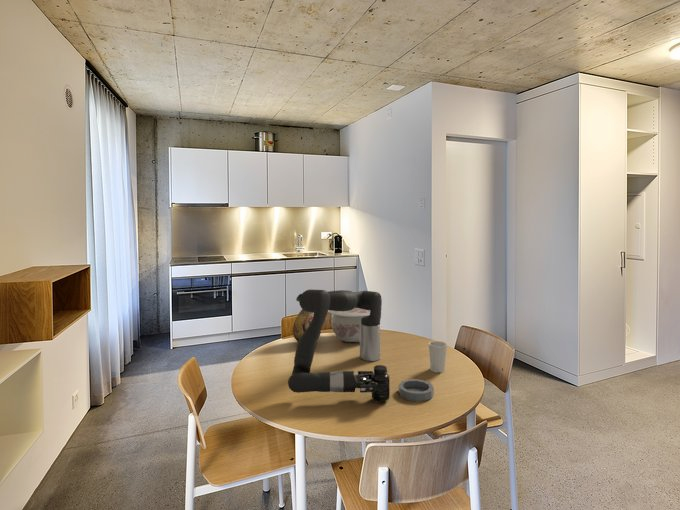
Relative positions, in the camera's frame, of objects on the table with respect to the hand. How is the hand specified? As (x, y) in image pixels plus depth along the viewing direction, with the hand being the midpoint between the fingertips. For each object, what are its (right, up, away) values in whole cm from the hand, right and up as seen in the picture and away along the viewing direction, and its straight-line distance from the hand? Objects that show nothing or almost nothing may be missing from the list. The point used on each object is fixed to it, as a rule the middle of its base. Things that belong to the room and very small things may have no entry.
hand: (386, 380), depth 147 cm
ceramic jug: (-35, -2, +70) cm, 78 cm away
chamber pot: (-10, -1, +77) cm, 78 cm away
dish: (+12, -7, +6) cm, 15 cm away
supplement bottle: (-2, -7, +1) cm, 7 cm away
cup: (+27, -5, +30) cm, 40 cm away
